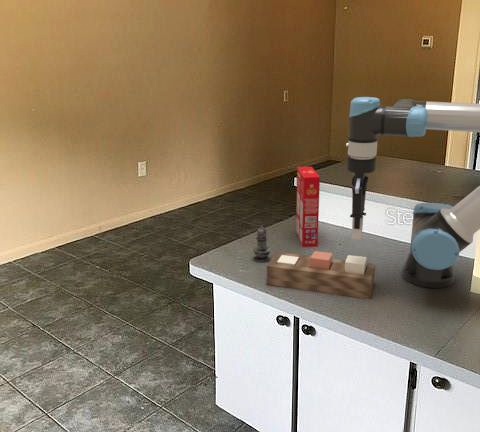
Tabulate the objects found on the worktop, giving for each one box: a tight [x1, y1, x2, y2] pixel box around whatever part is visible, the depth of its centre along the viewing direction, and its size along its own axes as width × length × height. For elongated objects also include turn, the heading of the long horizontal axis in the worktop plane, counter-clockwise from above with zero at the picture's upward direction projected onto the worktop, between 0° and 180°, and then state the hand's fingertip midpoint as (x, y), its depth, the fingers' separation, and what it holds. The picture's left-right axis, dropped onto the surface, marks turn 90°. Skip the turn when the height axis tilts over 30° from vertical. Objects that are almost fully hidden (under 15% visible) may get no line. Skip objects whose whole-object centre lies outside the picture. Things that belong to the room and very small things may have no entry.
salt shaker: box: [252, 224, 271, 263], centre depth 175 cm, size 6×6×12 cm
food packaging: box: [295, 166, 321, 248], centre depth 190 cm, size 15×5×25 cm, turn 3°
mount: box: [266, 251, 376, 300], centre depth 159 cm, size 30×11×6 cm, turn 71°
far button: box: [277, 255, 299, 266], centre depth 161 cm, size 5×5×4 cm
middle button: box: [310, 250, 333, 270], centre depth 157 cm, size 5×5×4 cm
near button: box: [345, 254, 368, 275], centre depth 154 cm, size 5×5×4 cm
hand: (356, 238), depth 151 cm, fingers closed
